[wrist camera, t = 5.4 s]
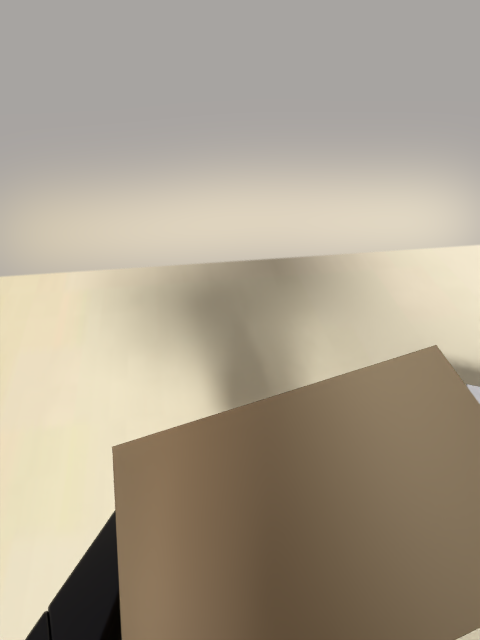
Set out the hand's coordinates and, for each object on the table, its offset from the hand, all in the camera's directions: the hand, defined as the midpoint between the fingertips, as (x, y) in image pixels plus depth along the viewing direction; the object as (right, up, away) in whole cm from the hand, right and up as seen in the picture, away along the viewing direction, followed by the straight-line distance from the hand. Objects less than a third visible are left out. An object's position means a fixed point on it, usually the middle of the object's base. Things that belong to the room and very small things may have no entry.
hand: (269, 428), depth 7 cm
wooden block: (0, -5, +5) cm, 7 cm away
